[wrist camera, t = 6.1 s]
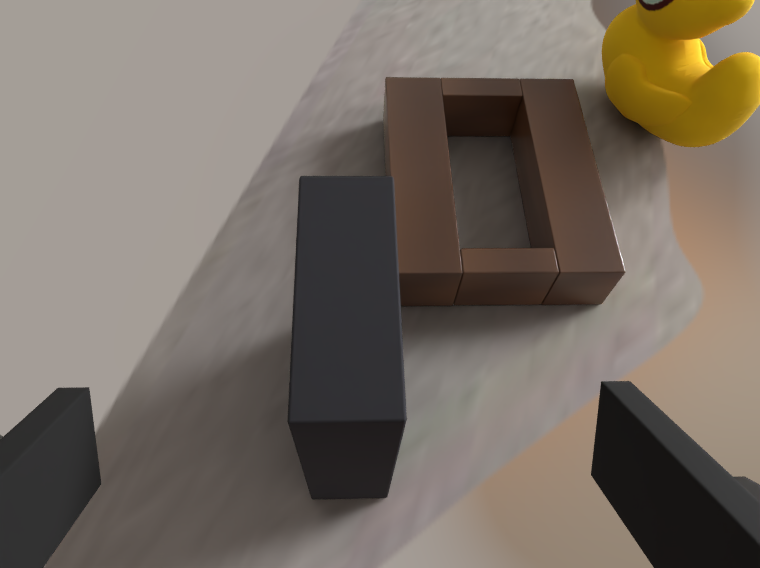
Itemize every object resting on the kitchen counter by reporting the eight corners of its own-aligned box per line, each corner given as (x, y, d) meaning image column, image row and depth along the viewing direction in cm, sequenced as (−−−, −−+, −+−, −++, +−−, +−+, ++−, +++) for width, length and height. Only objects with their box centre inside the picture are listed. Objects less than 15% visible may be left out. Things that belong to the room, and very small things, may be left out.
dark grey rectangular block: (311, 499, 24) (287, 423, 15) (316, 317, 28) (299, 175, 19) (387, 498, 24) (407, 421, 15) (381, 317, 28) (394, 175, 19)
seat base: (391, 306, 28) (395, 273, 26) (383, 118, 34) (385, 76, 32) (601, 305, 29) (626, 272, 26) (557, 120, 35) (573, 78, 32)
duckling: (546, 56, 37) (605, -118, 29) (617, 35, 39) (693, -138, 30) (661, 189, 32) (774, 27, 24) (738, 159, 34) (871, -5, 25)
